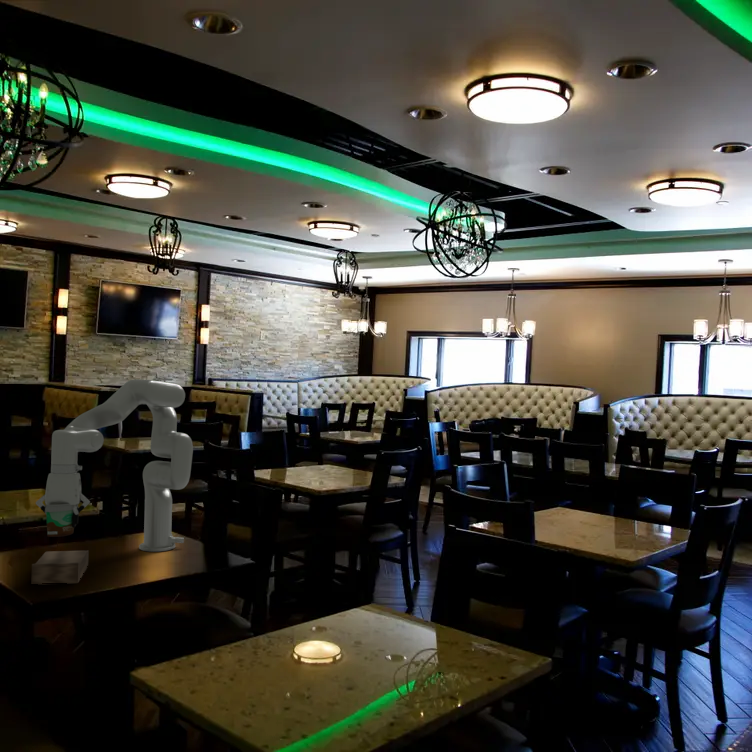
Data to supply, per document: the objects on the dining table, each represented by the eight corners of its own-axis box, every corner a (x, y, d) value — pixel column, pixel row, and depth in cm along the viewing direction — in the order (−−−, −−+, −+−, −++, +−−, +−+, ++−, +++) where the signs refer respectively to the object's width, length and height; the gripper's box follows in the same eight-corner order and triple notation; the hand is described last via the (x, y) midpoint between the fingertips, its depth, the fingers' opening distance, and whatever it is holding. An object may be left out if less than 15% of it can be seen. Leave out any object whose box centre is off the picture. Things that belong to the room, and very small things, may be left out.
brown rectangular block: (88, 565, 239) (88, 547, 239) (77, 583, 220) (78, 563, 220) (45, 566, 236) (45, 548, 236) (31, 584, 217) (31, 564, 217)
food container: (62, 538, 222) (63, 506, 222) (44, 537, 223) (44, 505, 223) (85, 530, 234) (86, 499, 234) (68, 529, 235) (68, 498, 235)
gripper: (95, 468, 234) (93, 523, 234) (36, 467, 230) (35, 524, 230) (91, 471, 226) (89, 528, 226) (31, 471, 222) (29, 529, 222)
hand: (62, 526), depth 228 cm, fingers closed on food container, 6 cm apart
